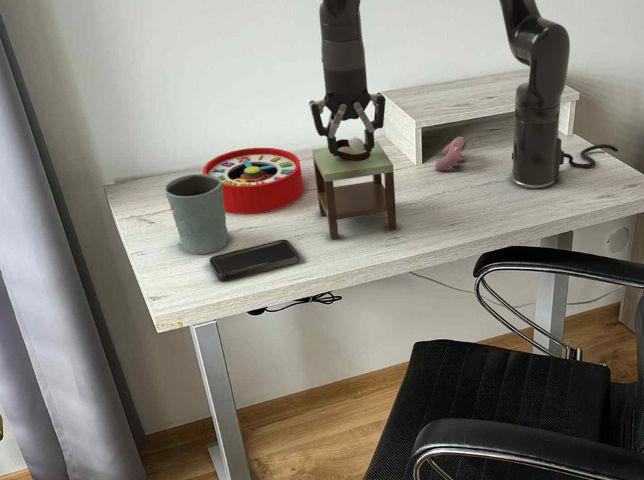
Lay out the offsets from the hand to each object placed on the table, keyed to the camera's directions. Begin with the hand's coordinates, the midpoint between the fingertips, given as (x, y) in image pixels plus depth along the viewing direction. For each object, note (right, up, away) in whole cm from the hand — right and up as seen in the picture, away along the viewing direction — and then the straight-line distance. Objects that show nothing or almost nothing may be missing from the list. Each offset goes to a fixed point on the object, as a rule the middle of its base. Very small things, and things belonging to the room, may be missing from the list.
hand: (352, 152), depth 154 cm
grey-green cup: (-28, -17, +2) cm, 33 cm away
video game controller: (+19, +5, +30) cm, 36 cm away
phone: (-17, -21, -4) cm, 28 cm away
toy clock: (-23, -4, +20) cm, 30 cm away
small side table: (0, -12, +9) cm, 14 cm away
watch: (0, -1, +1) cm, 1 cm away
